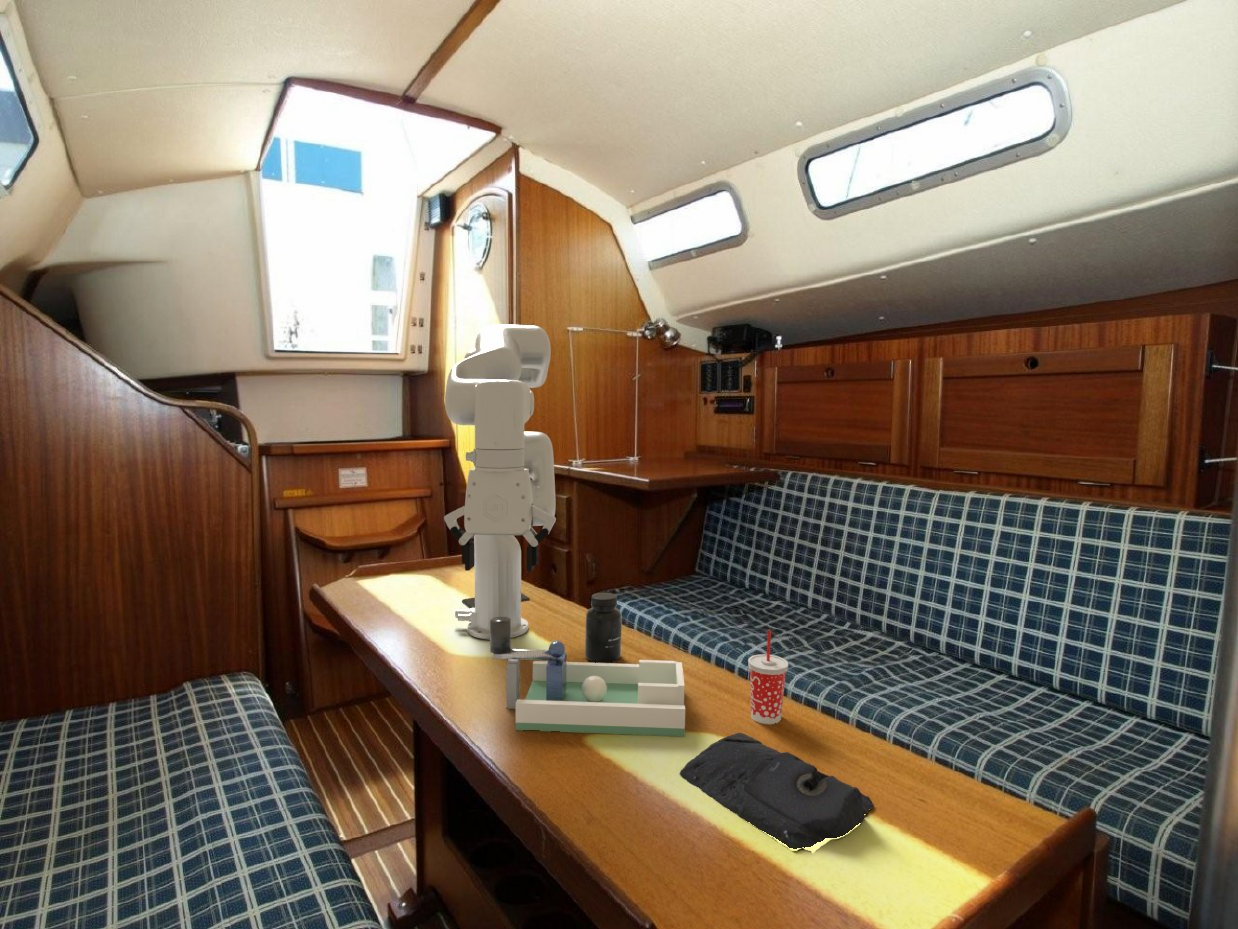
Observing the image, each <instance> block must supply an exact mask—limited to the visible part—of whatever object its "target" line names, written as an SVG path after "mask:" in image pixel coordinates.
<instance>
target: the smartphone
mask: <svg viewBox="0 0 1238 929" xmlns="http://www.w3.org/2000/svg"><path fill="white" fill-rule="evenodd" d="M530 600H531V599H530V597H529V596H527V595H526V594H524V593H523V592H521V603H522V602H528V601H530ZM461 603H462V604H464V605H465V606H466V607H467V608H469V610H470V609H471V608H475V597H470V598H464V599H462V600H461Z"/></svg>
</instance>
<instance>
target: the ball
mask: <svg viewBox="0 0 1238 929" xmlns="http://www.w3.org/2000/svg"><path fill="white" fill-rule="evenodd" d="M606 692H607V686H606V683H605V681H604V680H603V679H602V678H601V677H599V676H590V677H588V678H587V679H585V681H584V682H583V684H582V694H583V696H584V697H585V699H587V700H588V701H590V702H598V701H600V700H602V699H603V698H604V696H605V695H606Z"/></svg>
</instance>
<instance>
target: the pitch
mask: <svg viewBox="0 0 1238 929" xmlns="http://www.w3.org/2000/svg"><path fill="white" fill-rule="evenodd" d="M507 660H508V661H507V662H506V667H505V668H506V672H505V673H506V682H505V683H506V689H505V690H506V693H505V694H506V709H508V710H509V709H510V710H511V709H512V710H514V709H515V731H523V730H540V731H539V732H551V731H560V732H559V733H577V734H578V733H582V734H608V735H609V734H610V735H611V734H612V735H635V736H637V735H638V736H662V737H666V736H667V737H685V736H686V734H685V732H686V705H685V678H684V670H683V662H681V661H680V662H678V661H676V660H658V659H657V660H656V659H655V660H654V659H638V663H616V662H612V663H595V662H586V661H585V662H582V661H581V662H579V661H578V662H577V661H567V673H566V692H565V696H564V699H563V701H546V665H547V663H548V660H533V662H532V682H531V683H530V686H529V689H528V691H527V694H526V696H525V698H524V699H520V659H507ZM590 676H599V677H601V678H602V679H603V680H604V681H605V683H606V686H607V692H606V695H605V696H604V698H603V699H602V700H600V701H598V702H590V701H588V700H587V699H585V697H584V696H583V694H582V684H583V682H584V681H585V679H587V678H588V677H590ZM543 730H544V731H543Z"/></svg>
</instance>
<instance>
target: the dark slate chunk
mask: <svg viewBox="0 0 1238 929" xmlns="http://www.w3.org/2000/svg"><path fill="white" fill-rule="evenodd" d="M679 775H680V777H682V778H683V779H684V780H686V782H687V783H689V784H690V785H692V786H694V787H696V788H697V789H699V790H700V791H701V792H702V793H704V794H706V796H708V797H710V798H712V799H713V800H714V801H715V802H717V803H718V804H720V805H721V806H722V807H723V808H726V809H727V810H728V809H729V810H730V812H731V813H733V814H734V815H737V816H738V818H740V819H743V821H745V822H746V821H747V822H746V823H748V822H750V823H751V824H752V825H751V824H750V825H751V826H753V825H754V826H756V827H755V829H757V828H758V830H759V829H760V830H762V831H764V832H766V833H767V834H769V835H771V836H773V837H775V838H776V839H778V840H779V841H781V842H782V843H784V844H786V845H787V846H788V847H789V848H793V849H797V848H802V847H804V848H805V847H811V846H813V845H814V844H816V843H817V842H821V841H823V840H824V839H825V838H837V837H840V836H843V835H845V834H846V833H848V832H849V831H850V830H852V829H853V828H854V827H855V826H856V825H858V824H859V823H861V822H862V823H863V821H864V820H865V819H866V816H864V814H867V812H868V813H869V811H871V810H872V809H873V808H875V805H874V803H873V801H872V799H871V798H870V797H869V796H868V795H865V794H863V793H862V792H861V791H860V789H859V787H856V786H852V785H850V784H848V783H846V782H843V781H841V780H839V779H838V778H837V777H835V776H834V775H828V774H825V773H823V772H821V771H819V770H818V768H817V767H816V766H815V765H813V764H811V763H807V762H806V761H804V760H802V759H801V758H799V757H798V756H796V755H794V754H792V753H790V752H787V751H786V752H785V751H784V752H780V751H779V750H778V749H775V748H772V747H769V746H767V745H765V744H764V743H762V742H761V741H759V740H757V739H756V738H754V737H752V736H749V735H747V734H746V733H743V732H737V733H735V734H731V735H727V736H725V737H723V738H721V739H718V740H717V741H715V742H713V743H711V744H710V745H709V746H707V748H705V749H704V750H702V751H701V752H700V753H699V754H698V755H696V756H695V757H694V758H693V759H691V760H689V761H687V763H686V764H685V765H684V767H682V769H681V770H680V772H679ZM871 808H872V809H871ZM869 809H870V810H869ZM729 810H728V811H729ZM868 810H869V811H868ZM864 818H865V819H864ZM863 819H864V820H863ZM754 826H753V827H754ZM760 830H759V831H760ZM762 831H761V832H762ZM764 832H763V833H764ZM767 834H766V835H767Z"/></svg>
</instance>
